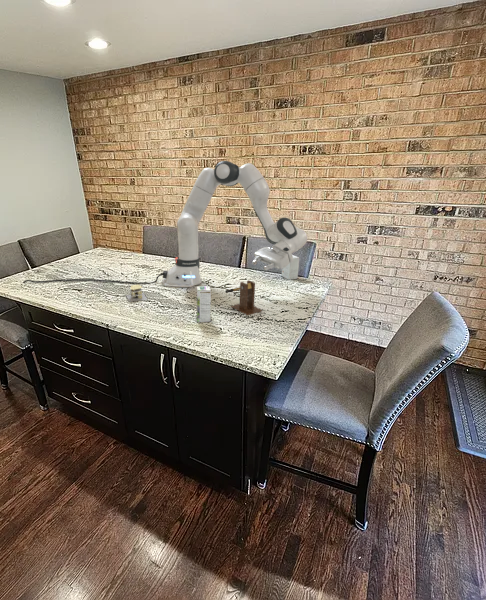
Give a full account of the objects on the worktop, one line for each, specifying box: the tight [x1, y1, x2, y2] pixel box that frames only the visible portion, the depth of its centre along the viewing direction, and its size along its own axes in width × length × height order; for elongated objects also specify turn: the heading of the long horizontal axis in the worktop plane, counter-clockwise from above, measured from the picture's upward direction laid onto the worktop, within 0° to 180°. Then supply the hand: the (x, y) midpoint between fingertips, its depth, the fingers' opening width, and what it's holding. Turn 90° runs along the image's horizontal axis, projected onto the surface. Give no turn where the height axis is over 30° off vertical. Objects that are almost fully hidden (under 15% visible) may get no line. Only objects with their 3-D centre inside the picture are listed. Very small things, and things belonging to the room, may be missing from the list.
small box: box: [281, 254, 300, 281], centre depth 200 cm, size 8×6×13 cm
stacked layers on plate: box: [126, 284, 148, 303], centre depth 171 cm, size 10×9×6 cm
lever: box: [225, 283, 252, 294], centre depth 155 cm, size 13×9×2 cm
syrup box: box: [196, 285, 212, 323], centre depth 144 cm, size 6×6×14 cm
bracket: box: [230, 279, 263, 316], centre depth 152 cm, size 12×9×14 cm
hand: (258, 266), depth 163 cm, fingers open, 8 cm apart
